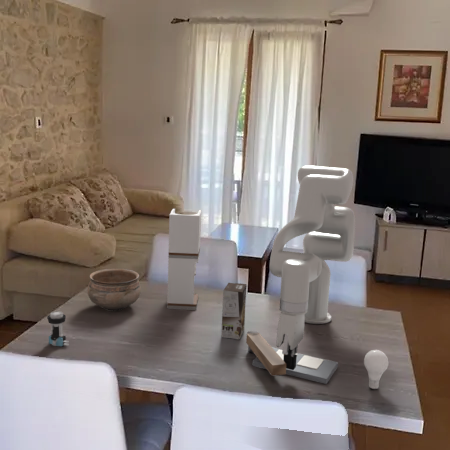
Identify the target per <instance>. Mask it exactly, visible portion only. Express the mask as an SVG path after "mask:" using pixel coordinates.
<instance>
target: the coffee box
mask: <svg viewBox="0 0 450 450" xmlns="http://www.w3.org/2000/svg"><path fill="white" fill-rule="evenodd" d="M246 298H247V284H246V283H239V282H238V283H236V282H235V283H234V282H228V283H227V284H226V286H225V288H224V289H223V295H222V311H221V312H222V314H221V315H222V316H221V335H220V337H221V338H225V339H235V340H240V339H241V337H242V335H243V333H244V331H245V321H246V320H245V319H246V301H247V299H246Z"/></svg>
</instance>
